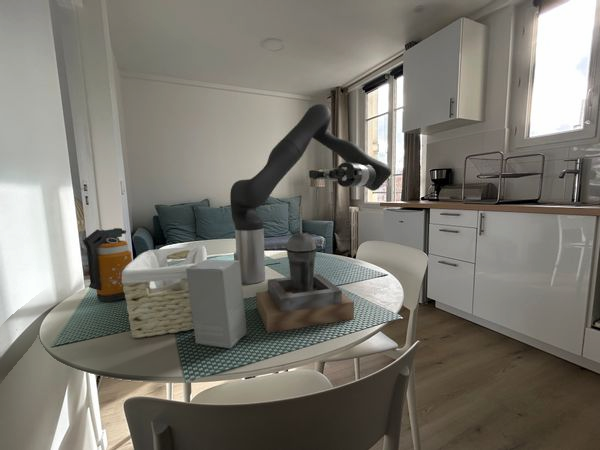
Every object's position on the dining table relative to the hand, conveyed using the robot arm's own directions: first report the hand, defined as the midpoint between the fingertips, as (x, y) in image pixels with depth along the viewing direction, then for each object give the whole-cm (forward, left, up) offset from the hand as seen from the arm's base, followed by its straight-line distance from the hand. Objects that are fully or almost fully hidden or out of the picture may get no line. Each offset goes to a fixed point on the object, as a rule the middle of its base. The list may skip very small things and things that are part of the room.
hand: (321, 173), depth 79 cm
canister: (-58, -14, -34) cm, 69 cm away
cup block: (-3, -15, -34) cm, 37 cm away
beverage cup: (-3, -15, -30) cm, 34 cm away
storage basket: (-34, -21, -34) cm, 52 cm away
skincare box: (-17, -30, -34) cm, 49 cm away
